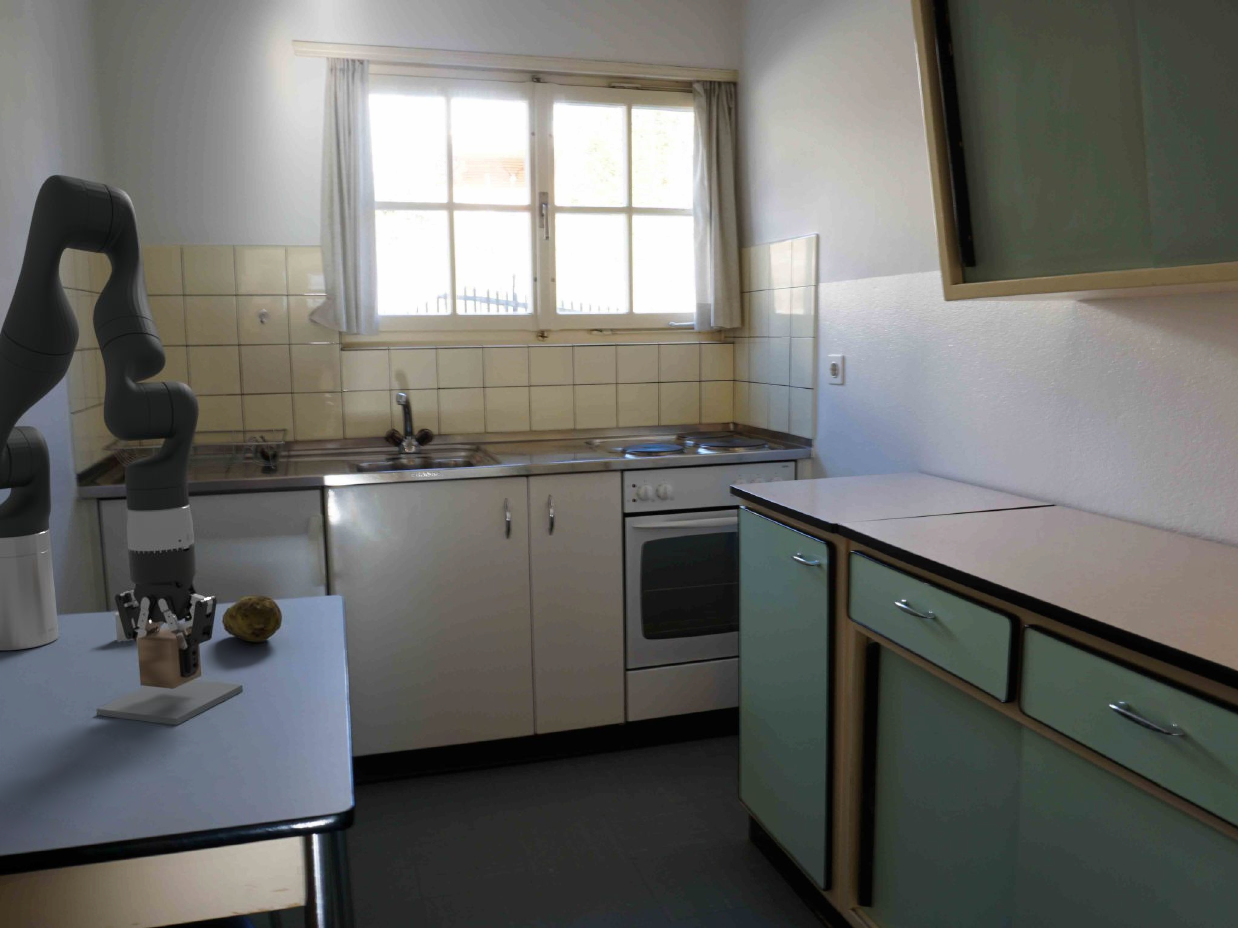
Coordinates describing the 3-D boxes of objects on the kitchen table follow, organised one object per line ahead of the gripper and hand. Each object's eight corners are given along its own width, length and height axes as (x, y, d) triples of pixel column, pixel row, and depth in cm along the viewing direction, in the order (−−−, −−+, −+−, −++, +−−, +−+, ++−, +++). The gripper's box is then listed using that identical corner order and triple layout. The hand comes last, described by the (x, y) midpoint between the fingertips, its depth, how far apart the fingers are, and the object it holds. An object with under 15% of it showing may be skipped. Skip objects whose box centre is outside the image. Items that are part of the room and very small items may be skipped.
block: (140, 685, 123) (137, 638, 122) (169, 672, 128) (166, 627, 127) (173, 688, 122) (169, 641, 121) (201, 675, 126) (198, 630, 126)
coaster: (96, 714, 121) (96, 708, 121) (167, 682, 132) (167, 676, 132) (176, 724, 118) (176, 718, 117) (242, 690, 129) (242, 684, 129)
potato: (278, 628, 157) (275, 579, 156) (285, 651, 145) (282, 599, 144) (222, 635, 154) (219, 585, 153) (225, 659, 142) (221, 605, 141)
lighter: (117, 642, 151) (113, 591, 150) (117, 639, 152) (113, 589, 151) (168, 635, 154) (164, 585, 153) (167, 632, 156) (164, 583, 155)
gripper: (91, 545, 121) (102, 678, 123) (187, 551, 117) (196, 688, 119) (137, 534, 128) (147, 659, 130) (229, 539, 124) (237, 669, 126)
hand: (170, 672), depth 125 cm, fingers closed on block, 5 cm apart
